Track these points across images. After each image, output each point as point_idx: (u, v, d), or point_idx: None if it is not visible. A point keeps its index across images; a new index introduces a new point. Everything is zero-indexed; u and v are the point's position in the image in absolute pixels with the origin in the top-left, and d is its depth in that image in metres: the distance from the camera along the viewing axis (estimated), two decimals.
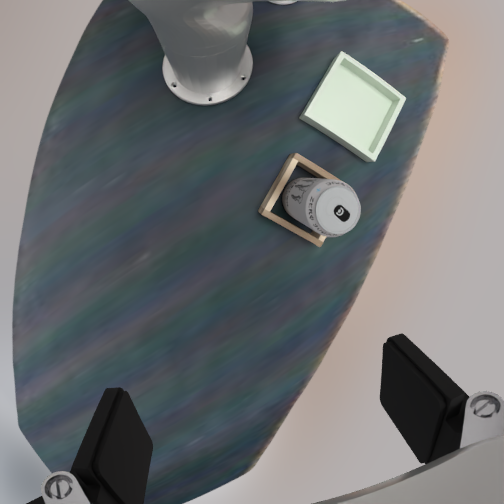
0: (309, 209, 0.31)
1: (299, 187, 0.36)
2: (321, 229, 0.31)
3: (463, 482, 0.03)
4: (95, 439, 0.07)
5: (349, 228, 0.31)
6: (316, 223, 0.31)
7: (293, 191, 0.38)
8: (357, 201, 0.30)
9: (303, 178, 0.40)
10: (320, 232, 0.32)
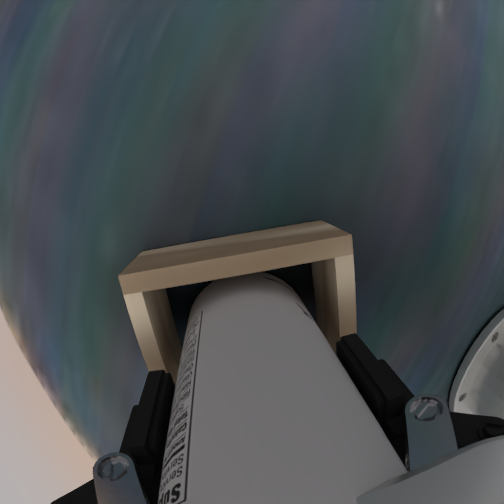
0: None
1: None
2: None
3: (463, 482, 0.03)
4: (147, 418, 0.08)
5: None
6: None
7: None
8: None
9: None
10: None
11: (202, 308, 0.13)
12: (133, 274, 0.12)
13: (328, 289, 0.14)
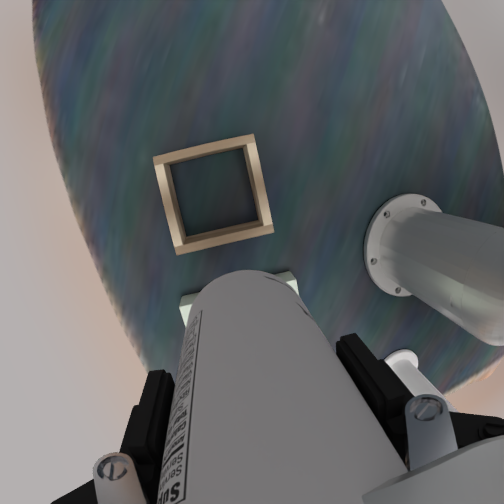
0: None
1: None
2: None
3: (463, 482, 0.03)
4: (147, 418, 0.08)
5: None
6: None
7: None
8: None
9: None
10: None
11: (202, 307, 0.13)
12: (159, 156, 0.27)
13: (249, 163, 0.29)
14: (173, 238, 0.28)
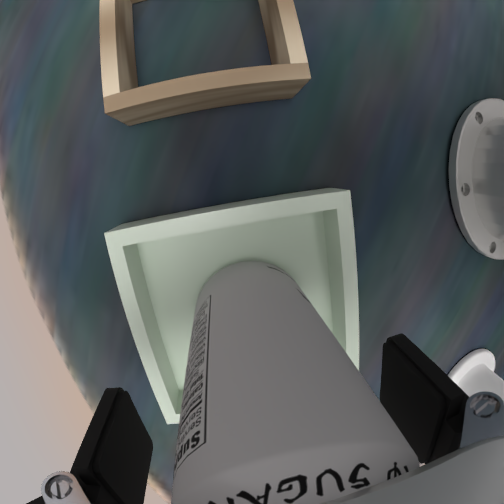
0: None
1: None
2: (326, 497, 0.04)
3: (463, 482, 0.03)
4: (95, 439, 0.07)
5: None
6: None
7: None
8: None
9: None
10: (302, 468, 0.04)
11: (210, 293, 0.14)
12: None
13: None
14: (104, 81, 0.11)
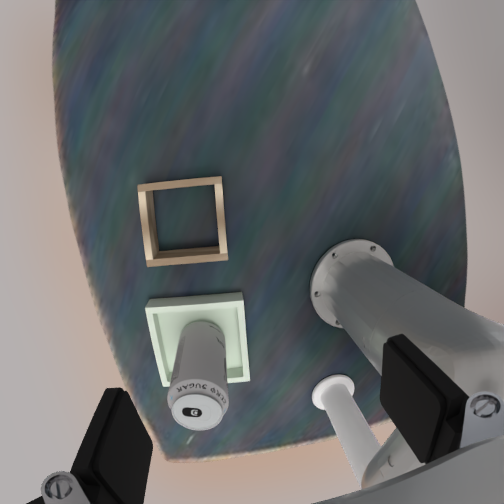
0: (220, 393, 0.28)
1: None
2: (196, 388, 0.27)
3: (463, 482, 0.03)
4: (95, 439, 0.07)
5: (174, 406, 0.26)
6: (205, 389, 0.27)
7: None
8: (186, 426, 0.27)
9: None
10: (193, 382, 0.27)
11: (185, 335, 0.37)
12: (143, 184, 0.33)
13: None
14: (146, 253, 0.34)
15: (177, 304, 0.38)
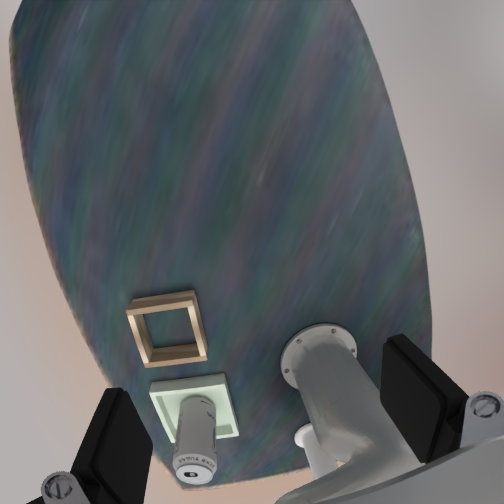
0: (209, 462, 0.34)
1: (216, 441, 0.40)
2: (191, 460, 0.34)
3: (463, 482, 0.03)
4: (95, 439, 0.07)
5: (177, 471, 0.33)
6: (198, 460, 0.34)
7: (215, 431, 0.42)
8: (188, 482, 0.34)
9: None
10: (189, 456, 0.34)
11: (182, 410, 0.44)
12: (130, 310, 0.39)
13: None
14: (142, 358, 0.41)
15: (173, 388, 0.44)
